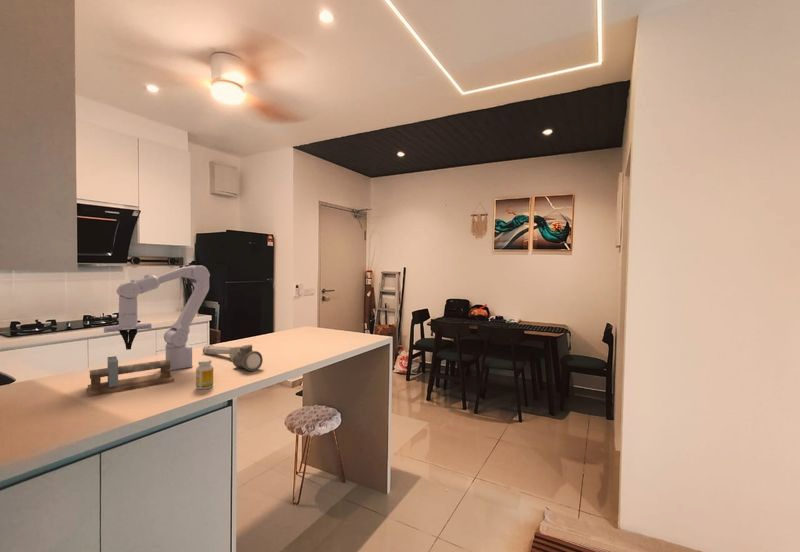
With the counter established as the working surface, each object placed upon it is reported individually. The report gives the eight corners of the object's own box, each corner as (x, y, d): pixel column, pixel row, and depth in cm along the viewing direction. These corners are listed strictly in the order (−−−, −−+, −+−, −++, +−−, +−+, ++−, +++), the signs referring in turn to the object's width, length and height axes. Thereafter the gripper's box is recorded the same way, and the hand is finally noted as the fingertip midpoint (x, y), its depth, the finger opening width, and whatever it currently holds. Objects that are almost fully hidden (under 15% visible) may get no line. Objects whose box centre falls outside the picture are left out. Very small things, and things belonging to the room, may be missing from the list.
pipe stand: (168, 374, 140) (168, 355, 140) (174, 381, 132) (174, 361, 132) (87, 387, 124) (87, 366, 124) (88, 396, 116) (88, 374, 116)
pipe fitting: (264, 367, 150) (261, 343, 150) (247, 374, 143) (243, 348, 143) (248, 366, 157) (245, 343, 156) (231, 372, 150) (227, 348, 150)
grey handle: (211, 344, 177) (244, 343, 165) (212, 358, 177) (246, 358, 164) (200, 346, 172) (234, 345, 160) (202, 360, 172) (235, 360, 160)
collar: (116, 379, 129) (116, 356, 128) (118, 386, 122) (118, 361, 122) (107, 381, 127) (107, 357, 127) (109, 387, 121) (109, 362, 120)
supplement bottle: (192, 389, 124) (192, 362, 124) (201, 384, 130) (201, 358, 129) (208, 389, 124) (208, 362, 124) (216, 384, 130) (216, 358, 129)
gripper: (104, 316, 130) (104, 354, 130) (152, 313, 139) (152, 348, 140) (103, 314, 135) (103, 350, 135) (149, 311, 144) (150, 345, 145)
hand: (128, 349), depth 138 cm, fingers closed
